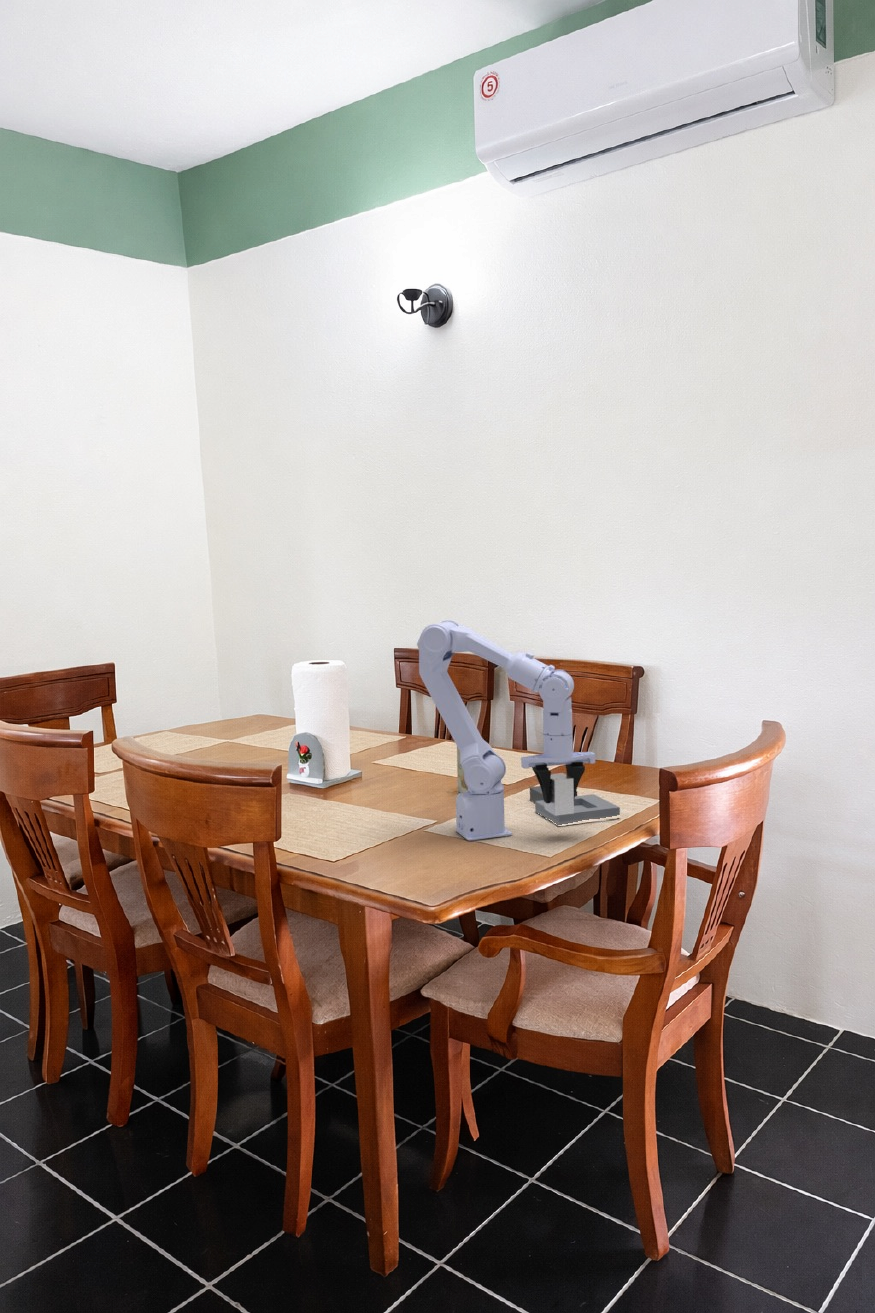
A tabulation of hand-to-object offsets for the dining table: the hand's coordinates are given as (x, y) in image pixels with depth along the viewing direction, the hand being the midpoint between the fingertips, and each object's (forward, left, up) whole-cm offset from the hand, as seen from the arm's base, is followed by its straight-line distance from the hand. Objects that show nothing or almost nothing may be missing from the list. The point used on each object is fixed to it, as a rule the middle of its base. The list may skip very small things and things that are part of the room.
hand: (559, 801), depth 196 cm
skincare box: (-4, +41, -8) cm, 42 cm away
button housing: (+10, +25, -7) cm, 28 cm away
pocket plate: (+10, +13, -7) cm, 18 cm away
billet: (0, 0, -2) cm, 2 cm away
